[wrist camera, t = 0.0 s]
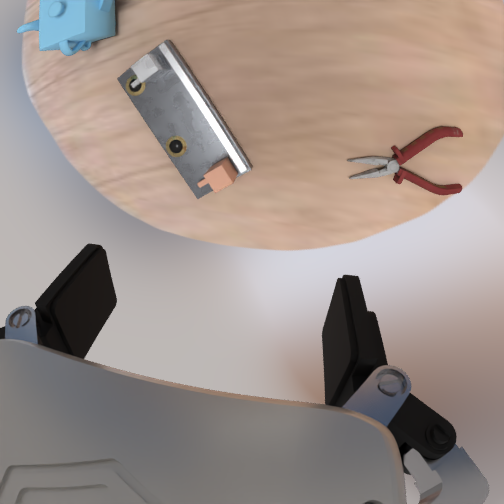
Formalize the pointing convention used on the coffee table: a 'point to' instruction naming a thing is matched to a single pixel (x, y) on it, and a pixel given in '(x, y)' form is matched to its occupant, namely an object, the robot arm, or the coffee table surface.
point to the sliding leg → (219, 175)
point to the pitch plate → (181, 115)
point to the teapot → (72, 24)
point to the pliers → (405, 155)
